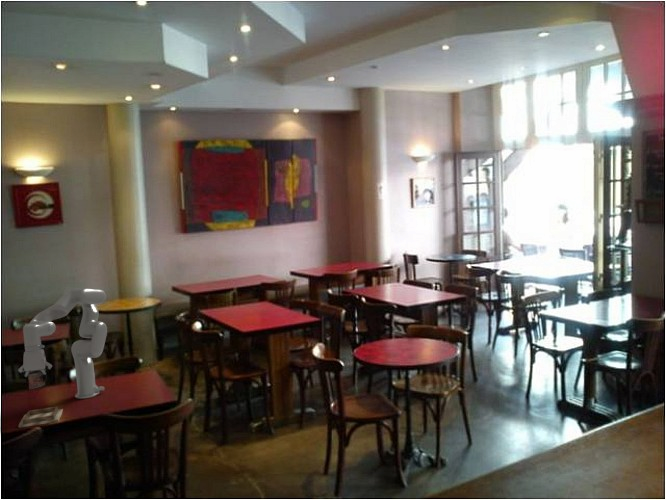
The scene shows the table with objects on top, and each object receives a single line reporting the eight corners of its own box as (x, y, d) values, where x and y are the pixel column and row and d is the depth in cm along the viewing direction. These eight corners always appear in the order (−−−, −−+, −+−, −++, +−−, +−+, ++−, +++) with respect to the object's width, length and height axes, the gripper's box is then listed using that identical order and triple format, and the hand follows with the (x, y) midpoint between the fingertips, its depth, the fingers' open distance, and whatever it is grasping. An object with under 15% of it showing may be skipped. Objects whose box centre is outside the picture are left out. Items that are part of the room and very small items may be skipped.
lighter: (31, 389, 306) (29, 370, 305) (27, 388, 308) (25, 369, 307) (46, 384, 313) (44, 365, 312) (42, 384, 315) (40, 365, 314)
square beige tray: (62, 411, 318) (62, 405, 318) (58, 421, 303) (57, 415, 302) (25, 416, 313) (24, 410, 313) (18, 427, 298) (18, 421, 297)
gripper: (53, 344, 315) (56, 378, 316) (16, 348, 310) (19, 383, 311) (50, 347, 307) (53, 382, 309) (12, 352, 303) (16, 387, 304)
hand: (36, 382), depth 310 cm, fingers closed on lighter, 6 cm apart
